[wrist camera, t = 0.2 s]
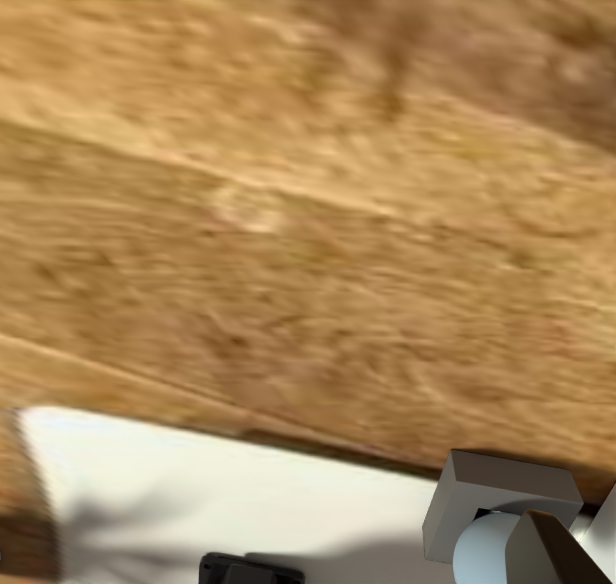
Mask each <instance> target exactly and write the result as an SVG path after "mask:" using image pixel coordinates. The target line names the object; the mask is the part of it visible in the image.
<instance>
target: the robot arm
mask: <svg viewBox="0 0 616 584" xmlns="http://www.w3.org/2000/svg"><path fill="white" fill-rule="evenodd" d="M505 567H506V581H507V584H613V583H612V582H611V581H610V579H609V578H608V577H607V576H606V575H605V574H604V572H603V571H602V570H601V569H600V568H599V566H598V565H597V564H596V563H595V562H594V561H593V559H592V558H591V557H590V556H589V555H588V553H587V552H586V551H585V550H584V549H583V548H582V546H581V545H580V544H579V543H578V542H577V541H576V539H575V538H574V537H573V536H572V535H571V533H570V532H569V531H568V530H567V529H566V528H565V526H564V525H563V524H562V523H561V522H560V520H559V519H558V518H557V517H556V516H554V515H553V514H551V513H547V512H542V511H538V510H533V509H528V510H526V511H524V513H523V514H522V515H521V517H520V519H519V521H518V522H517V524H516V526H515V527H514V529H513V531H512V532H511V534H510V536H509V537H508V539H507V542H506V546H505ZM199 584H305V575H304V574H302V573H301V572H297V571H291V570H286V569H280V568H275V567H269V566H264V565H258V564H253V563H247V562H242V561H237V560H231V559H226V558H220V557H215V556H208V555H206V556H203V557H202V559H201V562H200V565H199Z"/></svg>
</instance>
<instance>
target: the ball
mask: <svg viewBox="0 0 616 584" xmlns="http://www.w3.org/2000/svg"><path fill="white" fill-rule="evenodd" d="M520 517H521V516H520V515H516V514H512V513H503V512H500V513H491V514H487V515H484V516H482V517H480V518H478V519H476V520H474V521H473V522H472V523H471V524H469V525H468V526H467V527H466V528H465V530H464V531H463V532H462V534H461V535H460V537H459V539H458V541H457V543H456V547H455V550H454V556H453V572H454V578H455V582H456V584H507V581H506V567H505V546H506V542H507V539H508V537H509V536H510V534H511V532H512V531H513V529H514V527H515V526H516V524H517V522H518V521H519V519H520Z"/></svg>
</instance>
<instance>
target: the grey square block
mask: <svg viewBox="0 0 616 584" xmlns="http://www.w3.org/2000/svg"><path fill="white" fill-rule="evenodd" d="M583 504H584V503H583V500H582V498H581V495H580V493H579V491H578V488H577V486H576V483H575V481H574V478H573V476H572V474H571V471H570V470H565V469H560V468H554V467H548V466H542V465H537V464H531V463H525V462H520V461H514V460H508V459H503V458H497V457H491V456H486V455H480V454H474V453H468V452H463V451H457V450H450V453H449V455H448V458H447V461H446V463H445V466H444V469H443V471H442V474H441V477H440V480H439V482H438V485H437V488H436V490H435V493H434V496H433V499H432V501H431V504H430V507H429V509H428V512H427V515H426V517H425V520H424V523H423V526H422V530H423V541H424V551H425V559H426V560H432V561H437V562H443V563H448V564H453V556H454V550H455V547H456V543H457V541H458V539H459V537H460V535H461V534H462V532H463V531H464V530H465V528H466V527H467V526H468V525H469V524H471V523H472V522H473V521H474V520H476V519H478V517H475V515H476V512H477V510H478V508H483V509H489V510H494V511H500V512H506V513H512V514H516V515H520V516H521V515H522V514H523V513H524V511H526V510H528V509H533V510H538V511H542V512H547V513H551V514H553V515H554V516H556V517H557V518H558V519H559V520H560V522H561V523H562V524H563V525H564V526H565V528H566V529H567V530H569V528H570V527H571V525H572V523H573V521H574V520H575V518H576V516H577V514H578V513H579V511H580V509H581V508H582V506H583Z"/></svg>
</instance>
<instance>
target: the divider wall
mask: <svg viewBox="0 0 616 584" xmlns="http://www.w3.org/2000/svg"><path fill="white" fill-rule="evenodd" d="M579 544H580V545H581V546H582V548H583V549H584V550H585V551H586V552H587V553H588V555H589V556H590V557H591V558H592V559H593V561H594V562H595V563H596V564H597V565H598V566H599V568H600V569H601V570H602V571H603V572H604V574H605V575H606V576H607V577H608V578H609V579H610V581H611V582H612V583H613V584H616V483H615V485H614V487H613V488H612V490H611V492H610V493H609V495H608V497H607V498H606V500H605V502H604V503H603V505H602V506H601V508H600V510H599V511H598V513H597V515H596V516H595V518H594V520H593V521H592V523H591V525H590V526H589V528H588V529H587V531H586V533H585V534H584V536H583V538H582V539H581V541H580V543H579Z"/></svg>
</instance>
